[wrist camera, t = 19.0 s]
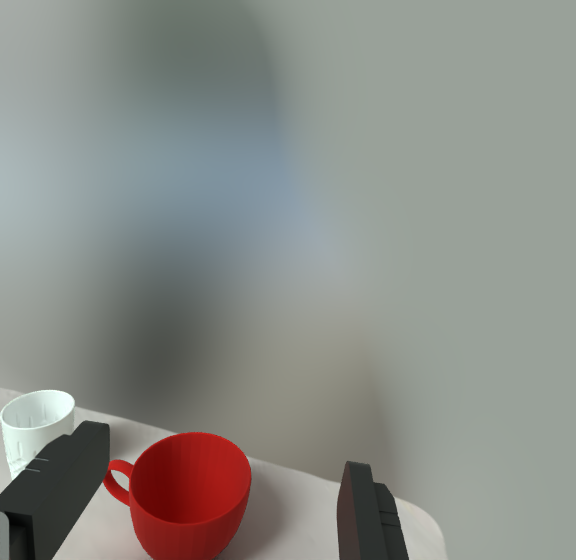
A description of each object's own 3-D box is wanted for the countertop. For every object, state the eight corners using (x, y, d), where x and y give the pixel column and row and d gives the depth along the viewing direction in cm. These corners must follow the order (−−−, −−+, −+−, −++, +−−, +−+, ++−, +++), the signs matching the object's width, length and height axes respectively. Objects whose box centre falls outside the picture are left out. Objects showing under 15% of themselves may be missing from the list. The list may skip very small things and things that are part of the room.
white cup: (18, 508, 47) (12, 438, 44) (-3, 469, 51) (-10, 404, 48) (86, 473, 53) (85, 410, 50) (62, 442, 57) (59, 383, 54)
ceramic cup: (132, 478, 53) (133, 415, 50) (253, 507, 51) (262, 444, 48) (66, 572, 41) (63, 497, 38) (223, 615, 39) (233, 540, 36)
